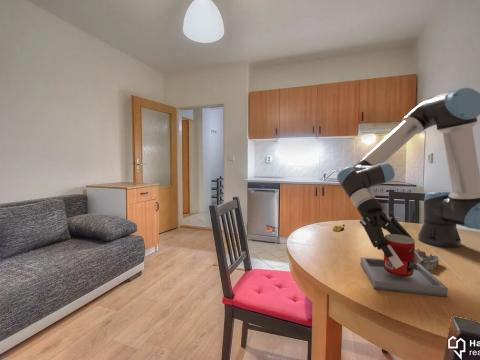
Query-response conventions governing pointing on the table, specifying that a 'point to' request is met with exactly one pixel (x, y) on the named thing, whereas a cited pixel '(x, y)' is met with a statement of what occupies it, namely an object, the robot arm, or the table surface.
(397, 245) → the canned food
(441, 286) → the tray
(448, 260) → the table surface
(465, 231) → the table surface
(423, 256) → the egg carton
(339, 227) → the yellow walkie talkie
